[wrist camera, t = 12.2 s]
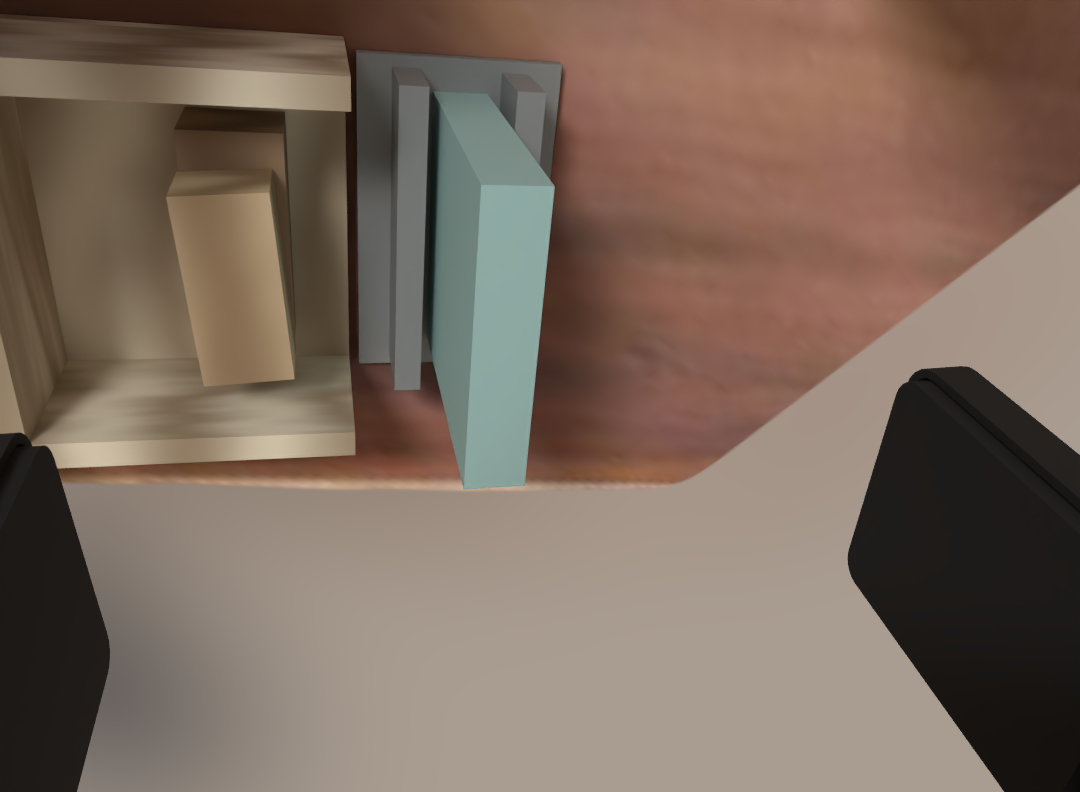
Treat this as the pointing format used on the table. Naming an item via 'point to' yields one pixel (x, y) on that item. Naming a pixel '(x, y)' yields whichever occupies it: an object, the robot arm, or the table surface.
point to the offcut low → (240, 156)
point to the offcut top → (233, 274)
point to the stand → (422, 181)
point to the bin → (158, 242)
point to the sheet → (485, 284)
